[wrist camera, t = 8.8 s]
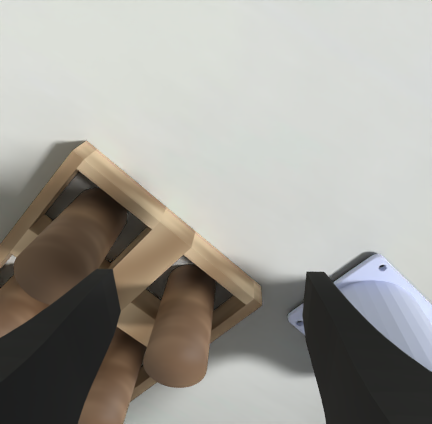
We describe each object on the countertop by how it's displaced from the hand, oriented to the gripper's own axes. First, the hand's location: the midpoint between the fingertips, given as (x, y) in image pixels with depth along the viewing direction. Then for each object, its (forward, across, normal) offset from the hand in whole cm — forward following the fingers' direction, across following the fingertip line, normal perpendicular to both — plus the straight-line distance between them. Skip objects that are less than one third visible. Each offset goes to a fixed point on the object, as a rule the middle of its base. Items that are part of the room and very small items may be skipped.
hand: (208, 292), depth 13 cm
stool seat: (+10, +8, +8) cm, 15 cm away
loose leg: (+10, +8, +2) cm, 13 cm away
